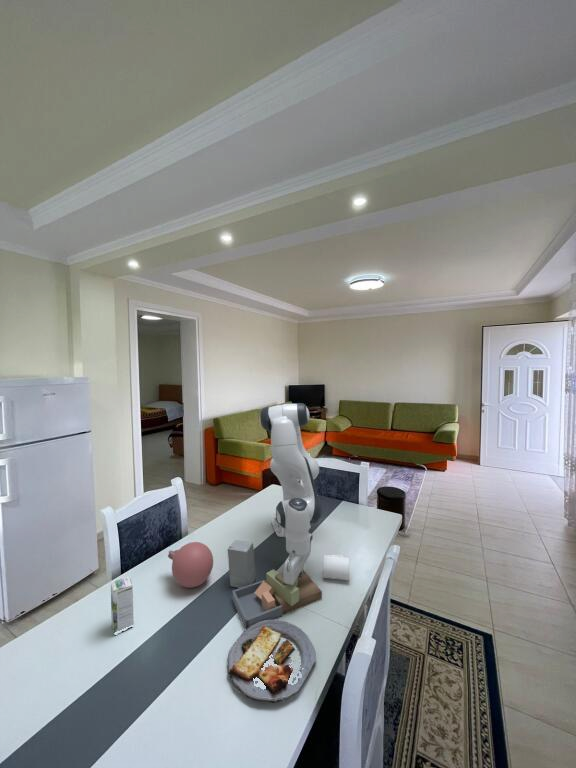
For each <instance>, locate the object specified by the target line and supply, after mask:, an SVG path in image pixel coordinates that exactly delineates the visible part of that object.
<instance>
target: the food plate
mask: <svg viewBox="0 0 576 768" xmlns="http://www.w3.org/2000/svg"><path fill="white" fill-rule="evenodd" d="M281 638H283V639H284V640H285V641H282V642H281V644H280V646H279V643H280V641H281ZM293 645H294V646H295V647H294V646H293ZM278 646H279V647H278ZM295 648H296V649H295ZM296 650H297V652H299V653H298V656H299V658H300V657H301V658H300V659H301V662H300V663H301V665H300V667H301V668H299V669H300V670H299V669H298V671H300V672H301V674H302V678H298V682H297V683H296V684H294V685H291V684H288V680H289V678H290V675H291V673H292V672H293V670H294V668H292V667H293V665H292V664H291V665H292V667H291V668H290V667H289V666H291V665H290V664H289V663H291V662H294V661H295V660H293V661H292V656H291V655H292V654H293V653H294V651H296ZM271 654H272V655H273V657H272V656H271V658H272V659H274V661H273V662H274V664H277V665H278V666H272V665H270V666H269V664H268V667H265V670H264V671H263V670H261V668H263V667H264V666H263V665H264V663H266V661H268V660H269V659H270V658H269V656H270V655H271ZM293 657H294V658H295V656H293ZM316 659H317V653H316V650H315V647H314V645H313V642H312V641H311V639H310V638H309V635H307V634H306V632H304V631H303V630H302V628H300V627H298V626H296V625H295V624H292V623H290V622H288V621H286V620H278V619H275V620H264V621H261V622H258V623H256V624H254V625H252V626H249V627H248V628H247V629H246V630H244V631H243V632H242V633H241V634H240V636H239V637H238V638H237V639H236V641H235V642H234V643H233V644H232V646H231V647H230V649H229V650H228V655H227V673H228V675H229V677H230V680H231V683H232V684H233V685H234V686H235V688H237V689H238V690H239V691H240V692H241V693H242V694H243V695H245V697H246V698H247V699H251V700H252V701H254V702H255V701H256V702H267V703H279V702H283V700H284V701H286V700H287V699H288V698H289V697H290V696H291V697H293V696H294V695H296V694H297V693H298V691H300V689H301V687H302V686H303V684H304V682H305V681H306V679H307V677H308V675H309V673H310V672H311V670H312V668H313V665H314V664H315V663H316ZM302 668H304V669H303V670H302ZM296 674H297V673H296ZM297 676H299V673H298V674H297ZM256 677H257V678H259V679H260V680H261V681H262V682H263V683H264V685H265V686H266V689H264V690H263V689H261V688H260V687H256V686H254V681H253V678H254V679H255V678H256ZM295 680H296V677H295V678H294V677H293V681H292V683H294V681H295ZM257 683H258V681H255V684H257Z"/></svg>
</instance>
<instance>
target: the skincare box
mask: <svg viewBox="0 0 576 768" xmlns="http://www.w3.org/2000/svg"><path fill="white" fill-rule="evenodd" d="M227 559H228V571H229V573H228V574H229V586H230V587H233V588H236V589H239V588H242V587H245V586H248V585H251V584H254V583H255V581H256V577H257V576H256V563H255V547H254V542H253V541H245V540H241V539H234V541H233V542H232V543H231V544H230V545H229V547H227Z"/></svg>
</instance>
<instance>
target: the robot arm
mask: <svg viewBox="0 0 576 768" xmlns="http://www.w3.org/2000/svg"><path fill="white" fill-rule="evenodd" d="M309 421H310V411H309V409H308V407H307V405H306V404H305V403H301V402H297V403H283V404H278V405H274V406H266V407H263V408H262V409H261V411H260V413H259V423H260V425H261V427H262V429H264V430H265V431H268V433H270V447H271V448H270V449H271V456H272V458H271V460H270V463H269V467H270V471H271V472H272V473H273V474H274V476H275V477H276V478H277V479H278V481H279V483H280V485H281V486H280V487H281V489H282V500H281V501H279V502H278V504H277V506H276V507H275V517H274V518H273V519H272V520H271V522H270V523H271V525H272V528H273V530H274V532H275V534H276V536H277V537H279V538H285V549H286V552H287V553H288V554H289V555H288V557H287V558H286V560H285V562H284V566H283V575H284V579H283V580H284V583H285V584H289V585H295V586H297V585H298V579H297V577H302V575H303V570H304V568H305V565H306V562H307V561H308V559H309V557H310V556H311V551H312V541H313V537H314V536H313V533H311V532H310V529H311V527H312V526H311V524H317V523H318V522H319V520H320V519H321V518H322V516H323V506H322V503H321V501H320V500H321V499H320V498H319V495H318V492H317V488H316V485H315V481H314V480H315V479H316V478H317V477H318V475H319V473H320V466H319V465H320V464H319V463H318V461H317V460H316V459H315V458H314V457H312V456H311V455H310V454H309V453H308V451H307V449H306V448H305V446H304V443H303V440H302V439H303V438H302V433H301V428H302V427H305V426H307V425H308V423H309ZM298 480H301V483H302V484H301V483H300V482H299V481H298Z"/></svg>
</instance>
